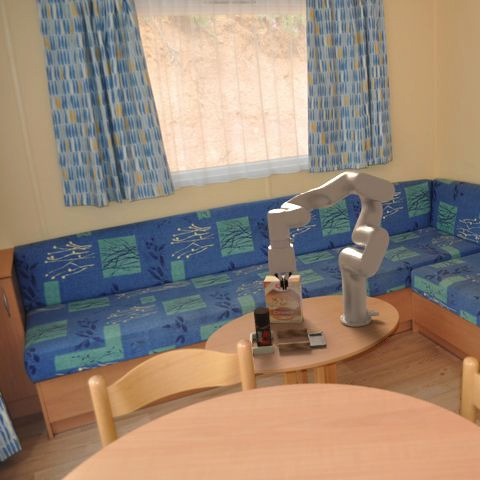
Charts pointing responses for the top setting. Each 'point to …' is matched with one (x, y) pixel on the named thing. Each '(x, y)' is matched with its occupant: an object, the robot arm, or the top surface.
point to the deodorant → (262, 327)
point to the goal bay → (261, 349)
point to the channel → (293, 345)
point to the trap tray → (316, 340)
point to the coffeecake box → (284, 300)
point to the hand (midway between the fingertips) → (284, 288)
